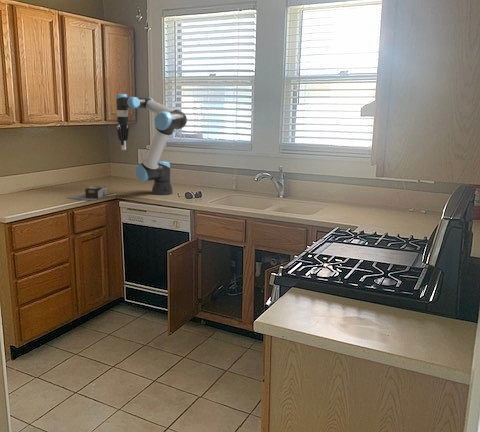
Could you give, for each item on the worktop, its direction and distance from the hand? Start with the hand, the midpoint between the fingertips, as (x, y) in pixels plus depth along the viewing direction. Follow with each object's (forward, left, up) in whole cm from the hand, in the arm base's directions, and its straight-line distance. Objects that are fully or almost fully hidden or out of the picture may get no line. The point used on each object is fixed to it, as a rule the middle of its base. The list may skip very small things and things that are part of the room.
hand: (123, 149), depth 342 cm
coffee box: (+7, +19, -27) cm, 34 cm away
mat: (+8, +31, -30) cm, 44 cm away
